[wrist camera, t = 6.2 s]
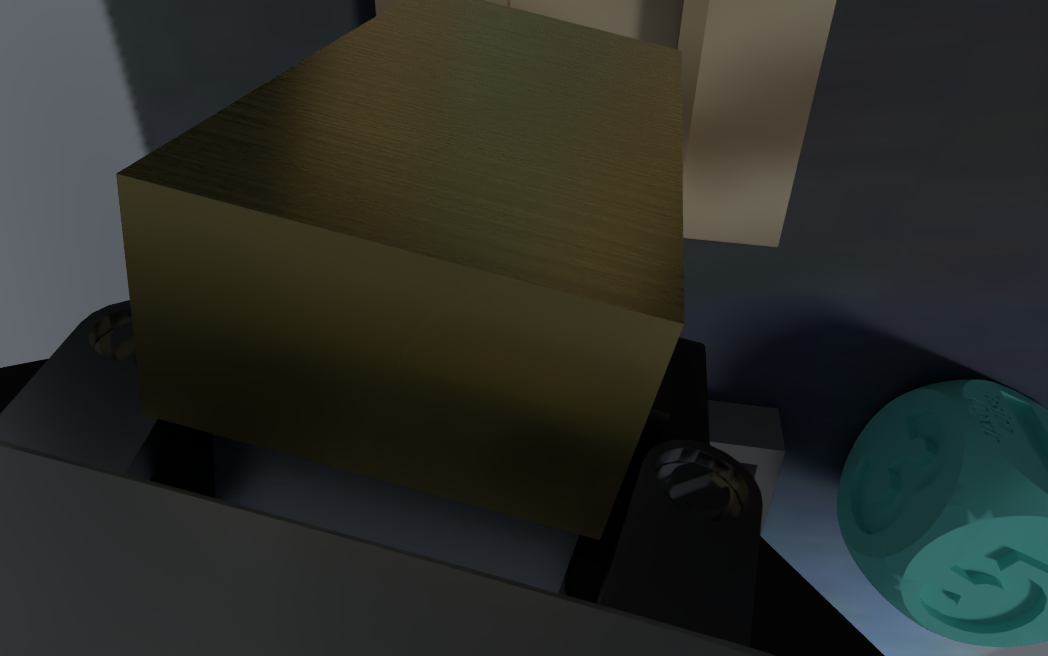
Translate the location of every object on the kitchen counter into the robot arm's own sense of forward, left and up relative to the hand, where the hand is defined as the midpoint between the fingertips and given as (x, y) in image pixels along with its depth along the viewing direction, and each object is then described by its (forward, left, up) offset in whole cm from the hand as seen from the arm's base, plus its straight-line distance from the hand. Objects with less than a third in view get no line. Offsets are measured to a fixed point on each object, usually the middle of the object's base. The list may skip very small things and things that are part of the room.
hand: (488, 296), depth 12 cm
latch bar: (+1, 0, -1) cm, 1 cm away
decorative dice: (+18, +18, -20) cm, 32 cm away
